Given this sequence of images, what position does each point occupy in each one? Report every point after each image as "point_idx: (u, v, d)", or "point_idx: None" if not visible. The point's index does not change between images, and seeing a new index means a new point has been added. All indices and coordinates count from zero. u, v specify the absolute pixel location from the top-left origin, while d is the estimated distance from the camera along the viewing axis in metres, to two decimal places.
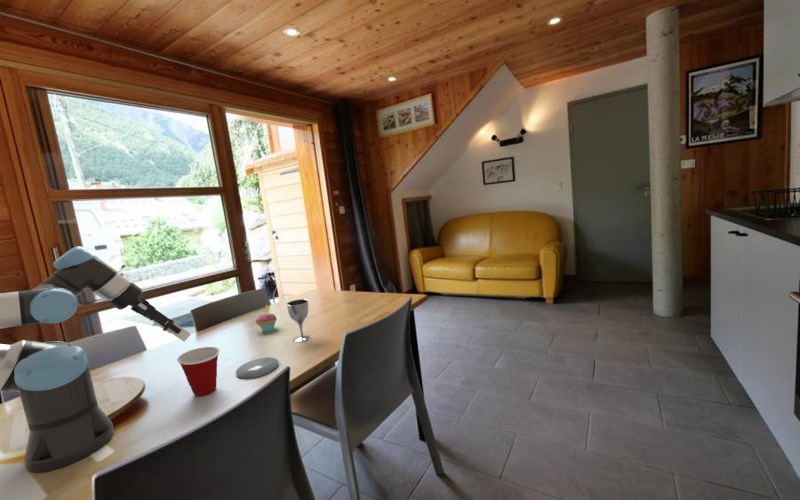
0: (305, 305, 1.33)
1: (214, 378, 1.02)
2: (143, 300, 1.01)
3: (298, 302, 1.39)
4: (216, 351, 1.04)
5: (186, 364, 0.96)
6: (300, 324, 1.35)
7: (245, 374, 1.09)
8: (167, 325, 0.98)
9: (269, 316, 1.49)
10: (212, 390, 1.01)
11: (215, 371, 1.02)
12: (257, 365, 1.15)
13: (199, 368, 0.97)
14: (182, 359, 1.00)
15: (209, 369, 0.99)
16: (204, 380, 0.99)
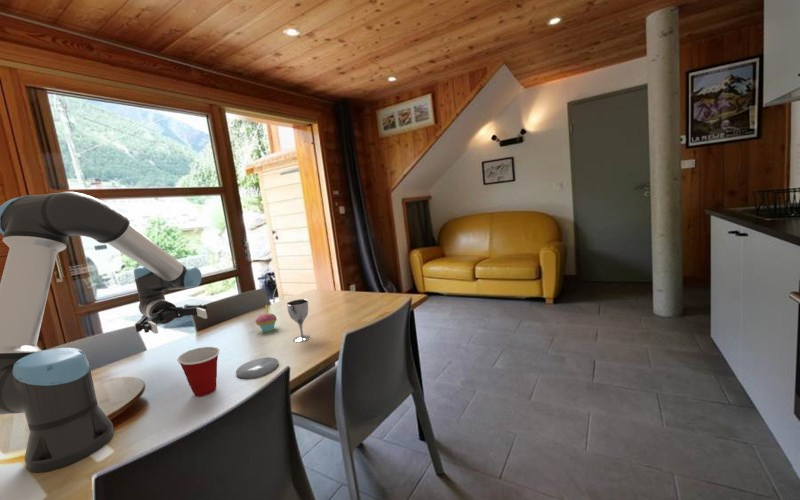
0: (305, 305, 1.33)
1: (214, 378, 1.02)
2: None
3: (298, 302, 1.39)
4: (216, 351, 1.04)
5: (186, 364, 0.96)
6: (300, 324, 1.35)
7: (245, 374, 1.09)
8: None
9: (269, 316, 1.49)
10: (212, 390, 1.01)
11: (215, 371, 1.02)
12: (257, 365, 1.15)
13: (199, 368, 0.97)
14: (182, 359, 1.00)
15: (209, 369, 0.99)
16: (204, 380, 0.99)
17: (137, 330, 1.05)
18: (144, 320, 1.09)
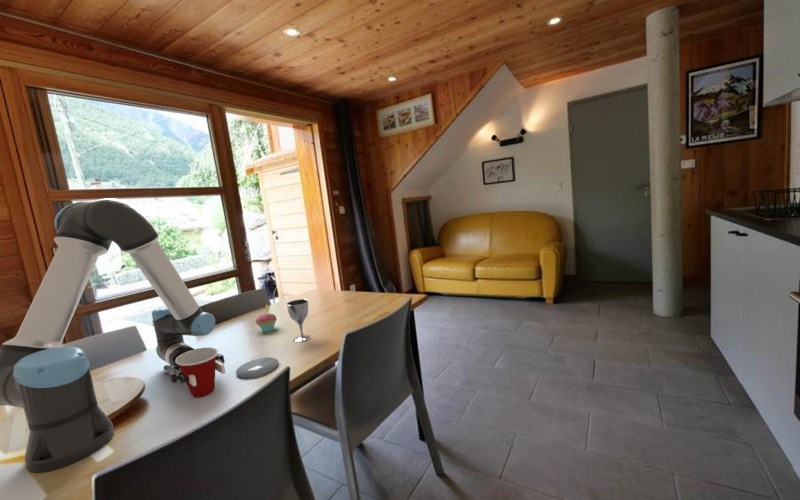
0: (305, 305, 1.33)
1: (212, 379, 1.01)
2: None
3: (298, 302, 1.39)
4: (214, 352, 1.04)
5: (184, 365, 0.95)
6: (300, 324, 1.35)
7: (245, 374, 1.09)
8: None
9: (269, 316, 1.49)
10: (210, 391, 1.01)
11: (213, 372, 1.01)
12: (257, 365, 1.15)
13: (197, 369, 0.97)
14: (180, 360, 1.00)
15: (207, 370, 0.99)
16: (202, 381, 0.98)
17: (173, 381, 0.98)
18: (173, 370, 1.02)
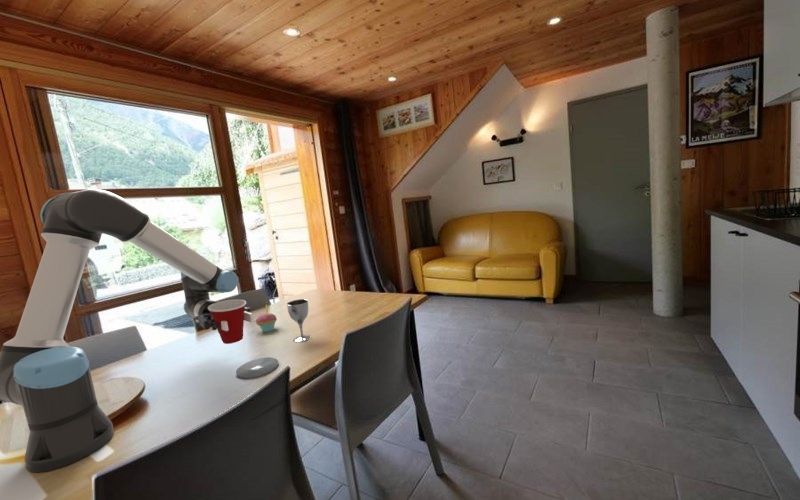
0: (305, 305, 1.33)
1: (241, 327, 1.08)
2: None
3: (298, 302, 1.39)
4: (242, 303, 1.10)
5: (217, 311, 1.02)
6: (300, 324, 1.35)
7: (245, 374, 1.09)
8: None
9: (269, 316, 1.49)
10: (240, 338, 1.08)
11: (242, 321, 1.08)
12: (257, 365, 1.15)
13: (228, 315, 1.03)
14: (211, 309, 1.06)
15: (237, 318, 1.05)
16: (232, 327, 1.05)
17: (206, 328, 1.05)
18: (204, 319, 1.09)
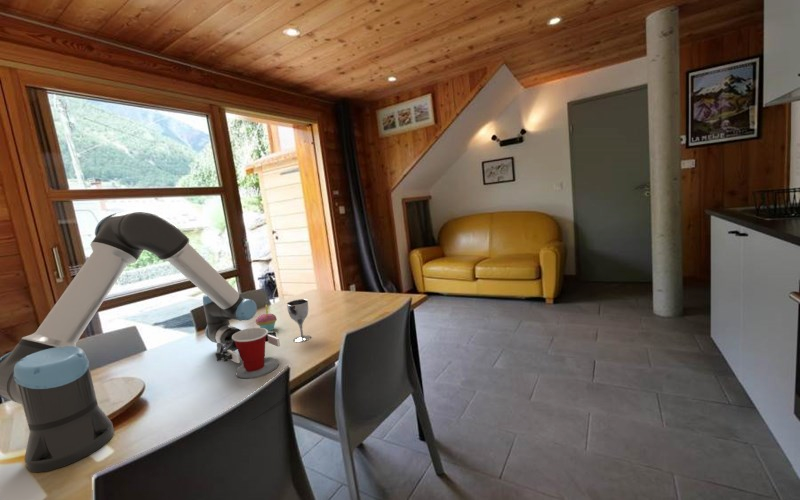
0: (305, 305, 1.33)
1: (263, 355, 1.13)
2: None
3: (298, 302, 1.39)
4: (264, 331, 1.15)
5: (241, 341, 1.07)
6: (300, 324, 1.35)
7: (245, 374, 1.09)
8: None
9: (269, 316, 1.49)
10: (261, 366, 1.12)
11: (264, 349, 1.13)
12: None
13: (251, 345, 1.08)
14: (235, 338, 1.11)
15: (260, 347, 1.10)
16: (255, 356, 1.10)
17: (218, 359, 1.09)
18: (221, 348, 1.13)
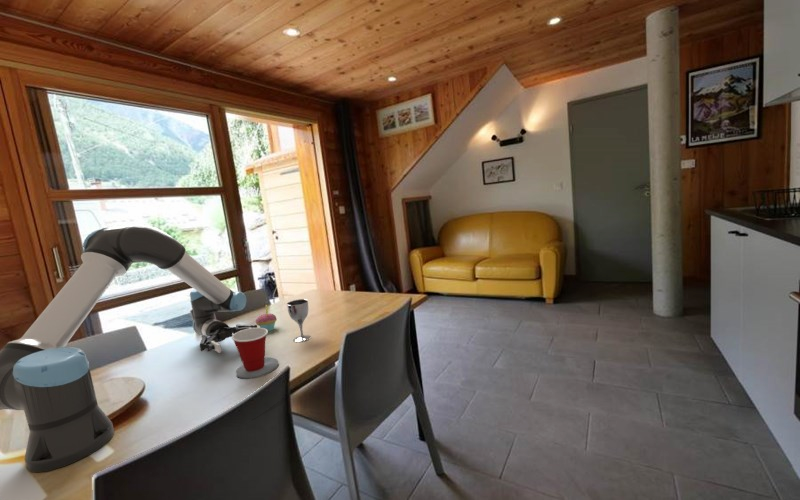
0: (305, 305, 1.33)
1: (263, 355, 1.13)
2: None
3: (298, 302, 1.39)
4: (264, 331, 1.15)
5: (241, 341, 1.07)
6: (300, 324, 1.35)
7: (245, 374, 1.09)
8: None
9: (269, 316, 1.49)
10: (261, 366, 1.12)
11: (264, 349, 1.13)
12: None
13: (251, 345, 1.08)
14: (235, 338, 1.11)
15: (260, 347, 1.10)
16: (255, 356, 1.10)
17: (201, 349, 1.18)
18: (205, 340, 1.23)
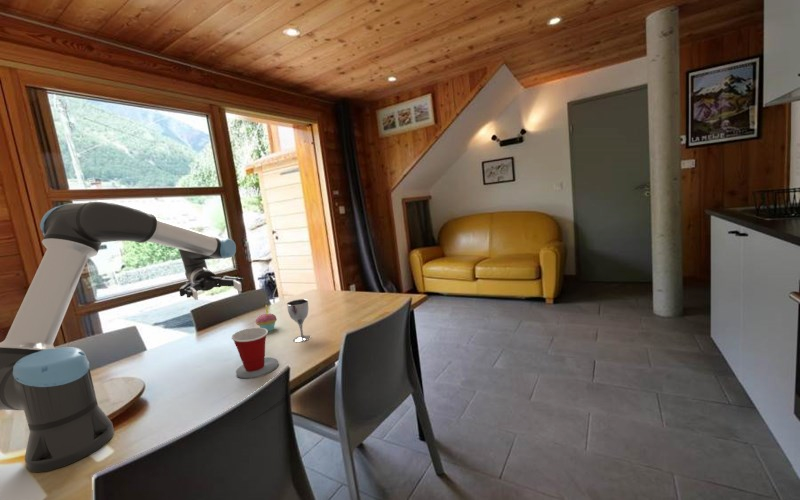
0: (305, 305, 1.33)
1: (263, 355, 1.13)
2: None
3: (298, 302, 1.39)
4: (264, 331, 1.15)
5: (241, 341, 1.07)
6: (300, 324, 1.35)
7: (245, 374, 1.09)
8: None
9: (269, 316, 1.49)
10: (261, 366, 1.12)
11: (264, 349, 1.13)
12: None
13: (251, 345, 1.08)
14: (235, 338, 1.11)
15: (260, 347, 1.10)
16: (255, 356, 1.10)
17: (180, 294, 1.16)
18: (187, 286, 1.20)
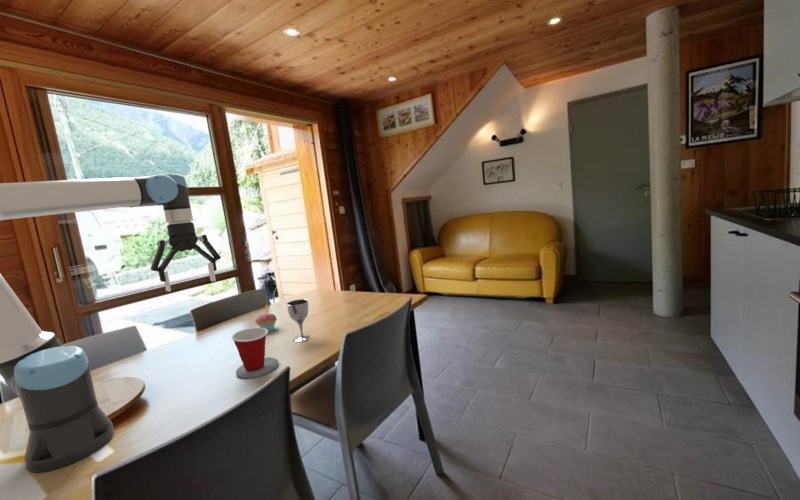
0: (305, 305, 1.33)
1: (263, 355, 1.13)
2: None
3: (298, 302, 1.39)
4: (264, 331, 1.15)
5: (241, 341, 1.07)
6: (300, 324, 1.35)
7: (245, 374, 1.09)
8: None
9: (269, 316, 1.49)
10: (261, 366, 1.12)
11: (264, 349, 1.13)
12: None
13: (251, 345, 1.08)
14: (235, 338, 1.11)
15: (260, 347, 1.10)
16: (255, 356, 1.10)
17: (152, 270, 1.08)
18: (161, 255, 1.09)
